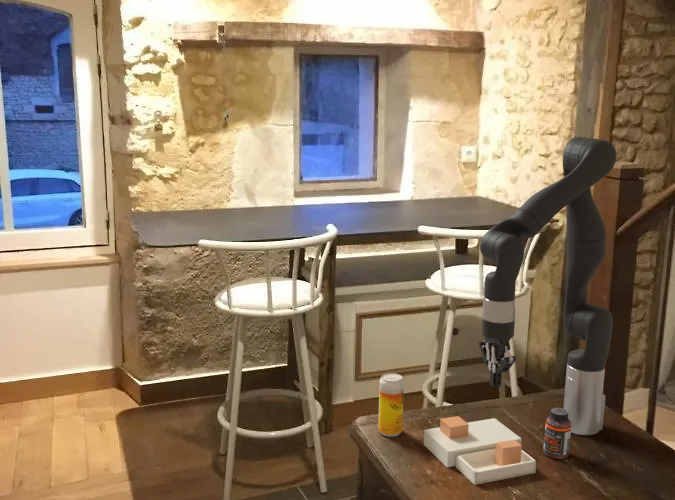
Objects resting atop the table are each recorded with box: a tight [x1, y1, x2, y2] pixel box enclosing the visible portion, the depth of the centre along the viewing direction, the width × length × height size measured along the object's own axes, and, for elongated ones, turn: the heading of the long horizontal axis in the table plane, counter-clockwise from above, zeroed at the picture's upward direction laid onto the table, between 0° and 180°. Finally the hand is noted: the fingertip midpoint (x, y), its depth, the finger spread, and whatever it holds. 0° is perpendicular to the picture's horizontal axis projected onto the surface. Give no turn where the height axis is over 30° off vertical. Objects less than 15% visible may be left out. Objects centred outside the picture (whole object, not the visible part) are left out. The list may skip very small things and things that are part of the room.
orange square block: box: [439, 415, 469, 439], centre depth 183 cm, size 5×5×3 cm
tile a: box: [495, 440, 523, 467], centre depth 175 cm, size 5×5×3 cm
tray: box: [455, 448, 537, 486], centre depth 173 cm, size 16×8×3 cm, turn 110°
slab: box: [423, 417, 522, 468], centre depth 183 cm, size 20×12×4 cm, turn 110°
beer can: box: [377, 372, 405, 438], centre depth 190 cm, size 6×6×15 cm
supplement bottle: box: [543, 407, 572, 460], centre depth 180 cm, size 6×6×11 cm
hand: (495, 385), depth 179 cm, fingers closed
